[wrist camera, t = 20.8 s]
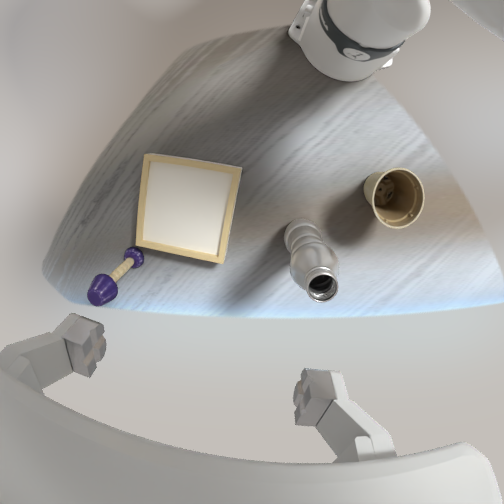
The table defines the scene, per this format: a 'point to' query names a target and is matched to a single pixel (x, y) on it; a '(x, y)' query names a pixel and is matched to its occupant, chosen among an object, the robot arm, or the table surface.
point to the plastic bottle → (311, 260)
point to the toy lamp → (113, 278)
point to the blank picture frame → (186, 206)
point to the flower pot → (395, 197)
